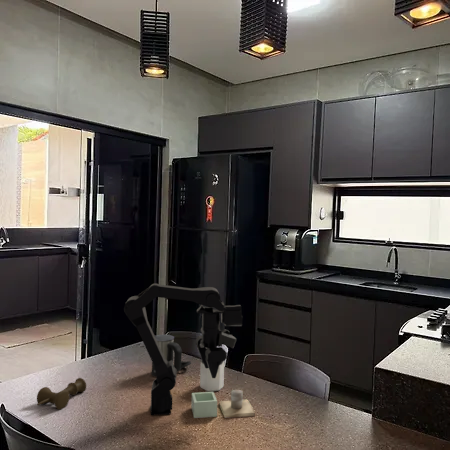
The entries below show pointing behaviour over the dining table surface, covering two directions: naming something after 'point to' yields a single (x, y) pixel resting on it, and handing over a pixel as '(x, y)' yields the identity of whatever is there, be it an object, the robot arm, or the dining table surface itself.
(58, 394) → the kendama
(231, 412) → the knob on square plate
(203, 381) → the jar
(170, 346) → the milk frother
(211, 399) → the sleeve
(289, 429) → the dining table surface
